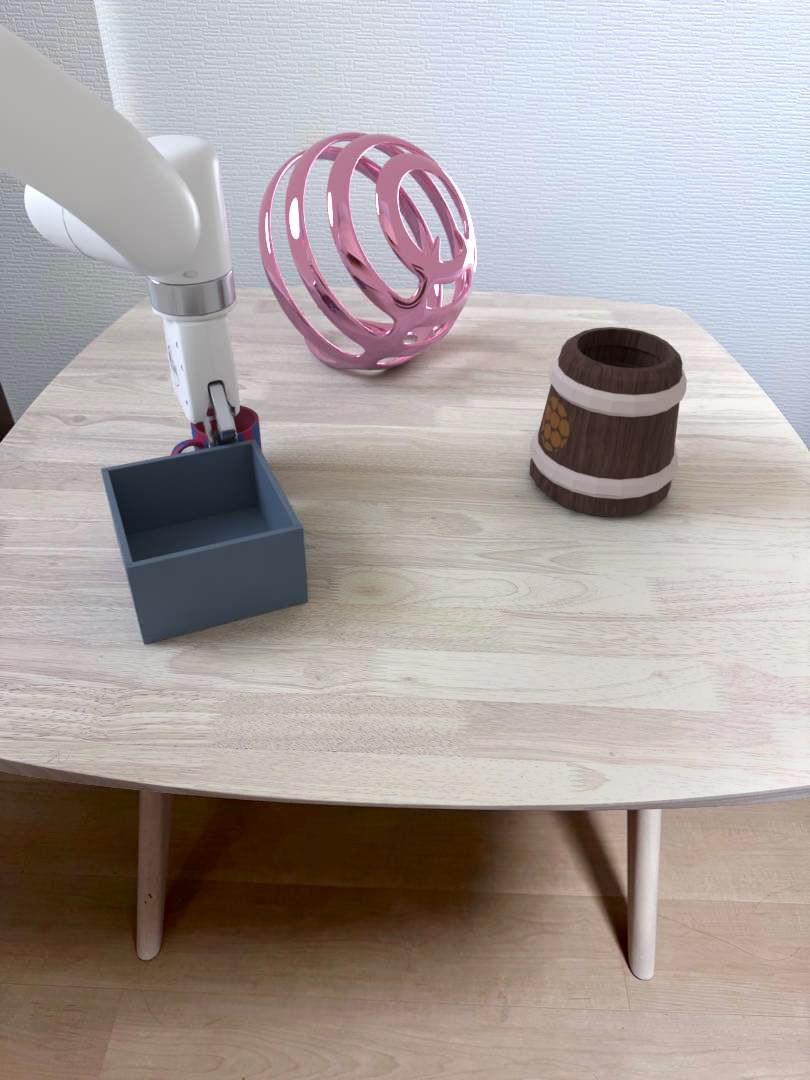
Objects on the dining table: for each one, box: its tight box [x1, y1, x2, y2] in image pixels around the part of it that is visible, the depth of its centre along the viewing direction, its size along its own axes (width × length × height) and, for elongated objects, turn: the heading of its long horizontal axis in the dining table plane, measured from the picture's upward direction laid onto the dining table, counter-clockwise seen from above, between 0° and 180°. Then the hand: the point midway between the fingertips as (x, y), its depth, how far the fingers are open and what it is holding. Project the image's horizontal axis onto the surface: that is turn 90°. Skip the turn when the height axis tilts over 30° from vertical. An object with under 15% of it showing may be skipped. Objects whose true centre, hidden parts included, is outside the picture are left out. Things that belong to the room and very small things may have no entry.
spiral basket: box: [257, 131, 477, 371], centre depth 105 cm, size 28×28×27 cm
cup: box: [170, 404, 263, 455], centre depth 86 cm, size 7×10×7 cm
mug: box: [529, 326, 688, 518], centre depth 87 cm, size 20×15×15 cm
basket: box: [100, 439, 309, 645], centre depth 74 cm, size 8×14×15 cm
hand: (218, 457), depth 86 cm, fingers closed on cup, 6 cm apart
